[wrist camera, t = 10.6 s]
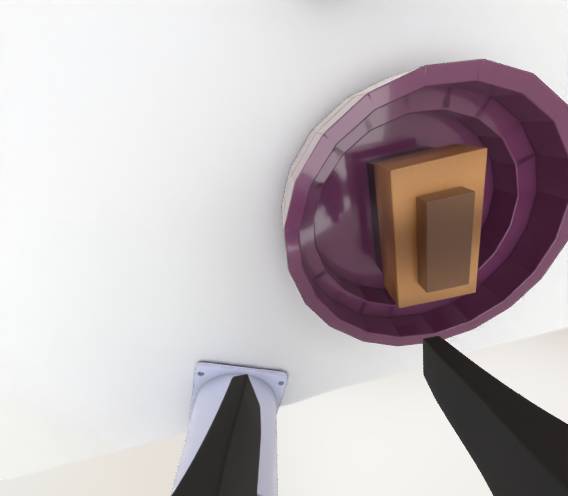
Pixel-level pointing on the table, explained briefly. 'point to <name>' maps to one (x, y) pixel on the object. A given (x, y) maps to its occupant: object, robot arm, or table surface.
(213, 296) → the table surface
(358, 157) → the bowl
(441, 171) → the scrub brush
